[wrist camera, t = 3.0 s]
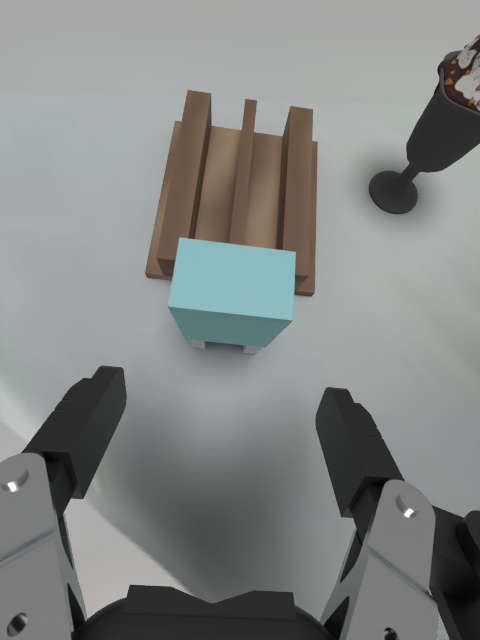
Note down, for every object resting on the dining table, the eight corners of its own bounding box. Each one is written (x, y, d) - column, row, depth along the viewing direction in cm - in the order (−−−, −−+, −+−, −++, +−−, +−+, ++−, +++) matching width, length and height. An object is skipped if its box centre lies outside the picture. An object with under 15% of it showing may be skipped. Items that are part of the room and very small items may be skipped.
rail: (314, 148, 28) (329, 112, 24) (311, 296, 24) (328, 278, 20) (176, 128, 27) (170, 87, 24) (147, 277, 23) (134, 255, 19)
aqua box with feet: (258, 317, 23) (295, 251, 12) (256, 355, 22) (293, 320, 12) (196, 310, 23) (179, 237, 12) (191, 348, 22) (167, 306, 11)
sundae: (371, 155, 28) (531, -90, 14) (431, 182, 28) (657, -39, 14) (350, 203, 27) (509, -21, 12) (415, 232, 26) (653, 39, 12)
